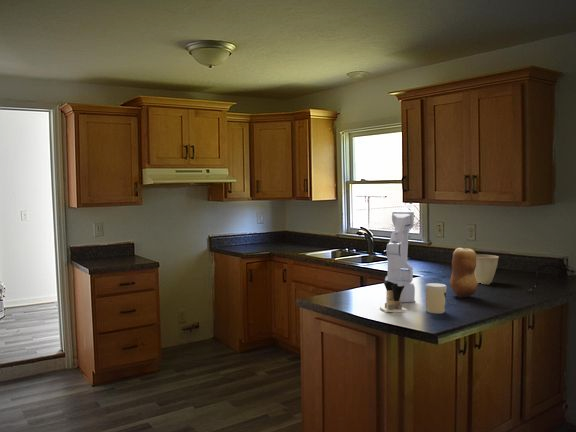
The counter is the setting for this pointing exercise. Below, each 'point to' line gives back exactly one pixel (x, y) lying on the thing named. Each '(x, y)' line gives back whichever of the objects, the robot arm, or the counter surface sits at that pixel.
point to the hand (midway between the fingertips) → (393, 299)
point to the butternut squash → (463, 272)
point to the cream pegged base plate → (391, 308)
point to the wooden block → (391, 300)
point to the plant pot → (485, 268)
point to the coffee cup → (435, 297)
